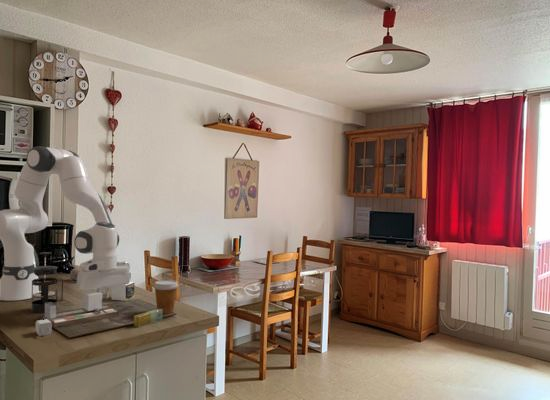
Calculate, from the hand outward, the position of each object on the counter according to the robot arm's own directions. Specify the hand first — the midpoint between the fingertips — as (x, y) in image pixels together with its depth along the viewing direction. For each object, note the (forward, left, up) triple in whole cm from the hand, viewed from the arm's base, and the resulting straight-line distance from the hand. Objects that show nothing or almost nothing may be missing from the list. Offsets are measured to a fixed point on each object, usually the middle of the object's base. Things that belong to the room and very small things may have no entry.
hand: (103, 298), depth 164 cm
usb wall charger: (+13, -25, -6) cm, 29 cm away
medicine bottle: (-15, +15, -6) cm, 22 cm away
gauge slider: (+2, -5, -3) cm, 6 cm away
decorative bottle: (-56, +16, -6) cm, 59 cm away
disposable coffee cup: (+15, +19, -6) cm, 25 cm away
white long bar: (0, -10, -4) cm, 11 cm away
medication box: (+23, +7, -6) cm, 25 cm away
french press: (-17, -16, -6) cm, 24 cm away
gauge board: (+2, -9, -6) cm, 11 cm away
